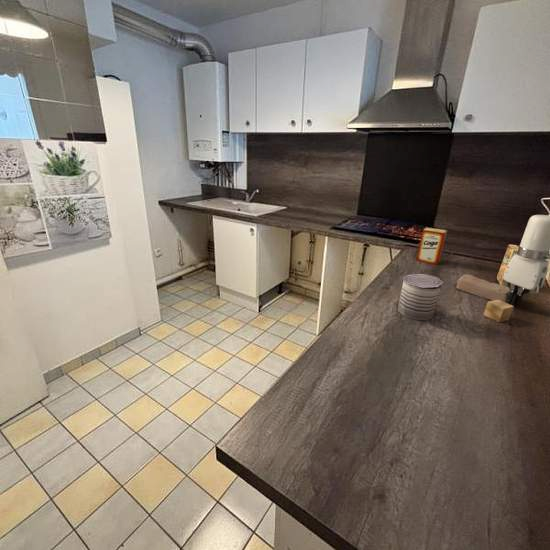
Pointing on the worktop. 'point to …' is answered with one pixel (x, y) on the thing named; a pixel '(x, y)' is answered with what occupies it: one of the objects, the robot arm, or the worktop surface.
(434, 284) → the can
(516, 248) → the candy box
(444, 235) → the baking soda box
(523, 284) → the robot arm
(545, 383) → the worktop surface
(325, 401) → the worktop surface
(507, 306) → the beech block
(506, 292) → the brick
